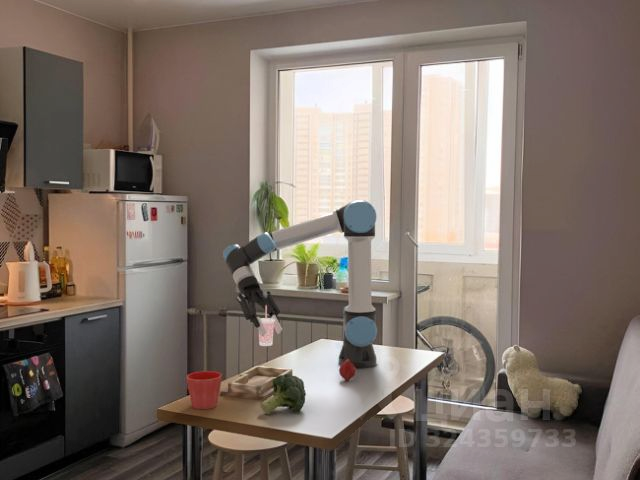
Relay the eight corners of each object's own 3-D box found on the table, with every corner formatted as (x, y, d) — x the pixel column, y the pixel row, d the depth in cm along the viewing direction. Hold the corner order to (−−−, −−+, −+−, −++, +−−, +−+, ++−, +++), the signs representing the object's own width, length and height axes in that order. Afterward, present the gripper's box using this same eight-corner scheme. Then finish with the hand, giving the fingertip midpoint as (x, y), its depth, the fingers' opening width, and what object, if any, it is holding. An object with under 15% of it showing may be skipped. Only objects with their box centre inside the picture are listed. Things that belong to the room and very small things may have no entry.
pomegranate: (335, 380, 238) (336, 358, 237) (346, 377, 242) (346, 356, 242) (348, 384, 234) (348, 361, 233) (358, 380, 238) (358, 358, 238)
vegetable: (251, 400, 207) (290, 374, 213) (274, 433, 202) (313, 406, 208) (252, 386, 197) (293, 359, 203) (276, 421, 192) (318, 393, 198)
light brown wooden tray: (294, 379, 238) (294, 369, 238) (264, 400, 214) (264, 388, 214) (254, 375, 244) (254, 365, 244) (220, 394, 219) (220, 383, 219)
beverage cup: (258, 342, 238) (258, 303, 237) (275, 342, 237) (275, 304, 236) (256, 346, 231) (256, 306, 231) (273, 346, 231) (273, 306, 230)
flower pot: (183, 402, 211) (183, 372, 210) (217, 399, 215) (217, 369, 214) (190, 412, 201) (190, 381, 200) (225, 408, 205) (225, 377, 205)
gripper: (263, 286, 251) (289, 335, 239) (220, 290, 239) (244, 342, 227) (271, 273, 247) (298, 323, 235) (227, 276, 234) (253, 329, 223)
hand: (272, 332), depth 231 cm, fingers closed on beverage cup, 6 cm apart
